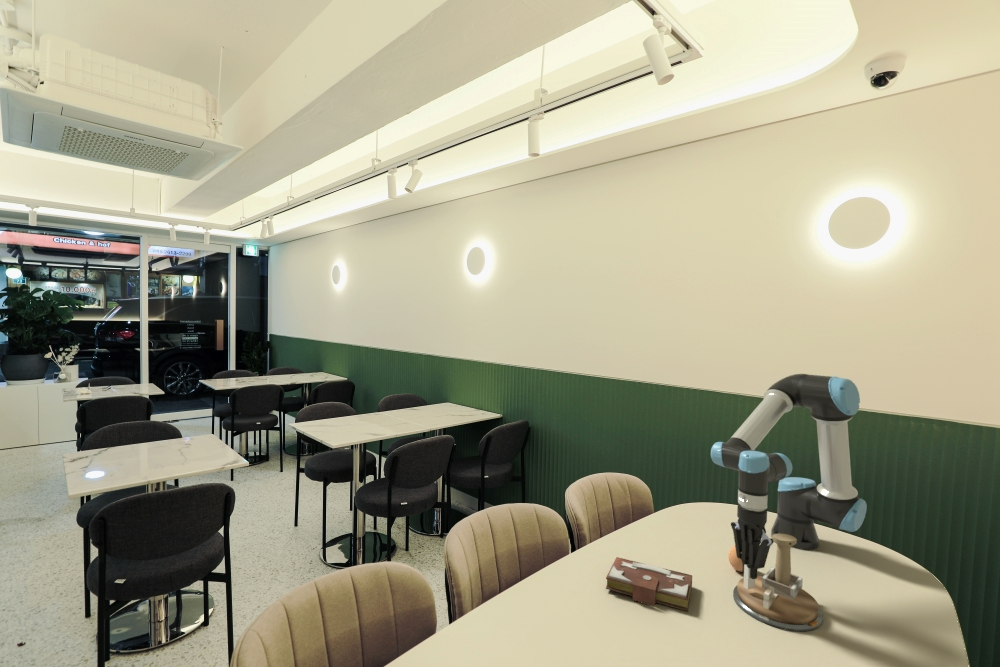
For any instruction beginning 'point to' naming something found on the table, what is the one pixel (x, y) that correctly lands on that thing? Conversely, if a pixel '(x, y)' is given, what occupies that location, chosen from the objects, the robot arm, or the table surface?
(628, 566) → the book
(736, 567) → the egg
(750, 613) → the base
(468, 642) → the table surface
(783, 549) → the handle
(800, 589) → the dial
